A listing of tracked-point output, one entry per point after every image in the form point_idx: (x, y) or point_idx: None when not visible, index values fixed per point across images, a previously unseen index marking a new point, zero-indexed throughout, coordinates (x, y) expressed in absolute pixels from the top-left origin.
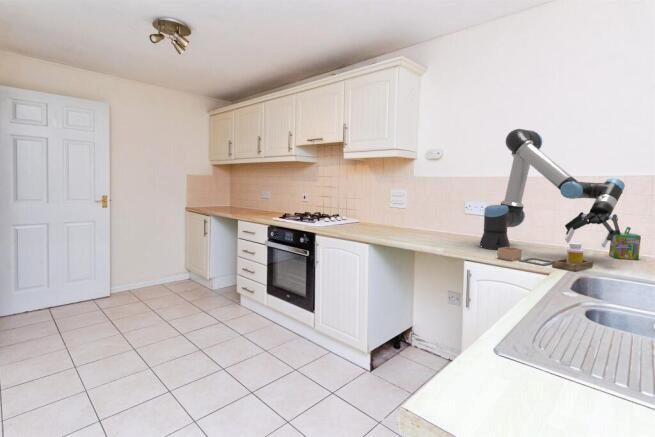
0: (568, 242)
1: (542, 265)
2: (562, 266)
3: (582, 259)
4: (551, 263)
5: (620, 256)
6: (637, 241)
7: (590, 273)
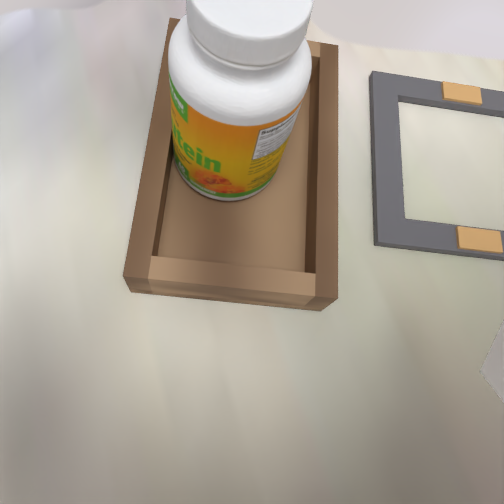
0: (483, 366)
1: (380, 77)
2: None
3: (172, 123)
4: (374, 156)
5: None
6: None
7: (92, 72)
